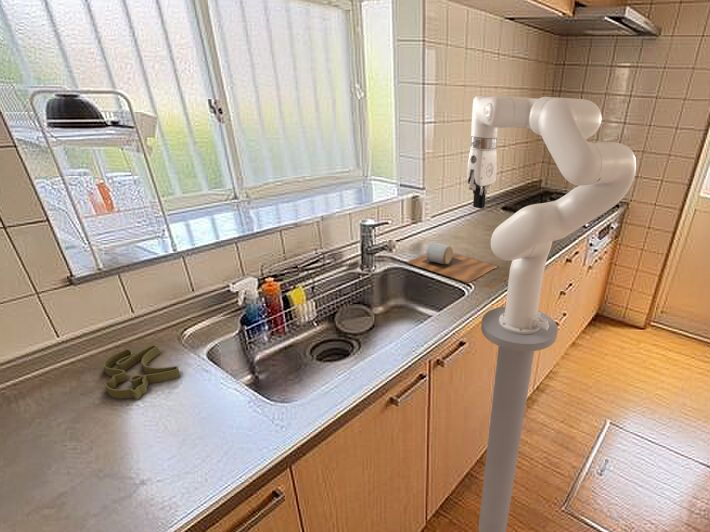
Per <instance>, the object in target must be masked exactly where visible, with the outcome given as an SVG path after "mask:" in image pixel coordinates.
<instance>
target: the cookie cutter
mask: <svg viewBox="0 0 710 532" xmlns="http://www.w3.org/2000/svg"><path fill="white" fill-rule="evenodd" d="M158 355H161V352H160V350H159V346H158V345H156V344H152V345H149V346H147V347H145V348H142V349H141V350H139V351H137V352H136V353H134V352H133V350H132V349H130V348H126V349H123V350H120V351H118V352H116V353H114V354H112V355H110V356H109V357H106V359H105V360H104V361H103V363H102V366H103V368H104V372H105V373H106V375H107V376H110V377H111V379H110V380H107V381H104V382H103V384H104V387H105V389H106V391H107V393H108V394H109V396H111V397H112V398H114V399H131V398H133V399H135V400H139V399H140V398H141V397H142V395H144V394H146V393H147V392H148V386H149V384H152V383H159V382H165V381H170V380H174V379H177V378H181V373H180V369H179V366H178V365H174V366H166V367H153V366H147V365H148V364H149V362H151V360H152V359H154V358H156V357H157V356H158ZM140 362H141V365H142V368H143V371H144V373H146V374H136V375H132V376H131V377H130V378H129V381H130V384H131V386H132V387H131V388H125V389H116V387H118V384H120V383H124V382H126V381H128V376H127V374H126V373H127V372H126V371H128V370H129V369H130V368H132V367H133V366H135V365H136V364H137V363H140ZM115 364H116V366H117V368H112V367H113V366H114V365H115Z"/></svg>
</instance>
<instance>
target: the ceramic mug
mask: <svg viewBox="0 0 710 532" xmlns="http://www.w3.org/2000/svg"><path fill="white" fill-rule="evenodd" d="M453 253H454V250H453V248H452V247H451V246H449V245H447V244H444V243H442V242H439V241H435V240H432V241H430V242H429V243H428V245H427V247H426V251H425V255H426V258H427V260H428V261H432V262H436V263H440V264H448V263H449V262H450V261H451V259H452V256H453Z"/></svg>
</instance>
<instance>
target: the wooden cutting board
mask: <svg viewBox="0 0 710 532" xmlns="http://www.w3.org/2000/svg"><path fill="white" fill-rule="evenodd" d="M406 264H409V265H412V266H415V267H418V268H421V269H424V270H428V271H430V272H434V273H437V274H439V275H443V276H446V277H449V278H452V279H455V280H458V281H461V282H464V283H467V284H470V283H472V282H473V281H475V280H477V279H479V278H480V277H482V276H484V275H486V274H487V273H489V272H491V271H493V270H494V269H496V268H498V265H495V264H493V263H488V262H485V261H481V260H477V259H474V258H470V257H467V256H465V255H461V254H457V253H454V252H453V256H452V259H451V261H450V262H449V263H448V264H440V263H436V262H432V261H428V260H427V258H426V254H423V255H421V256H418V257H416V258H413V259H411V260H409V261H406Z"/></svg>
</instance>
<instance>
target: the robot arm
mask: <svg viewBox="0 0 710 532" xmlns="http://www.w3.org/2000/svg"><path fill="white" fill-rule="evenodd" d="M602 120H603V119H602V112H601V109H600V108H599V106H598V105H597V104H596V103H595V102H593V101H591V100H589V99H585V98H574V97H573V98H572V97H556V96H540V97H539V98H534V97H533V98H531V97H521V96H508V95H507V96H505V95H504V96H503V95H492V96H491V95H475V97H474V98H473V100H472V110H471V126H470V142H469V143H470V144H469V155H468V159H467V160H468V161H467V170H466V182H467V184H468V190H471V191H472V194H473V202H472V203H473V204H472V206H473V208H477V209H484V208H485V207H486V195H487V193H488V189H489V188H490V186H492V184H495V183H496V182H497V174H498V173H497V172H498V152H497V144H498V130H499V128H503V129H505V128H513V129H515V128H517V129H530V130H531V131H532V132H533V133H534V134H536V135H538V136H541V138H542V141H543V142H544V144H545V146H546V148H547V150H548V152H549V153H550V155H551V157H552V159H553V161H554V163H555V165H556V166H557V168H558V170H559V173H560V174H561V175H562V177H563V178H564V179H565V181H567V182H569V184H571V185H575V186H576V187H574V188H572V189H571V190H570V191H569V192H567V193H566V194H565V195H563V196H561V197H559V198H558V199H556V200H552V201H547V202H542V203H541V202H540V203H534V204H529V205H526V206H524V207H522V208H520V209H519V210H517V211H516V212H515V213H513V214H512V215H511V216H509V217H508V218H507V219H505V220H504V221H503V222H502V223H500V224H499V225H497V227H496V228H495V229H494V230H493V233H492V235H491V237H490V248H491V251H492V253H493V255H494V256H495V257H496V258H498V259H499V260H502V261H505V262H510V261H511V263H510V267H509V272H508V281H507V289H506V290H507V291H506V298H505V306H506V307H505V306H504V307H505V313H503V314H502V315H500V317H499V324H500V326H501V327H502V328H503V329H505V330H507V331H509V332H512V333H516V334H531V333H535V332H537V331H538V330H539V329H540V328H541V329H544V330H548V328H549V324H548V320H546V319H542V318H541V317H540V314H541V312H542V311H540V312H538V311H539V306H540V299H541V292H542V286H543V280H544V274H545V270H546V264H547V260H548V257H549V254H550V251H551V249H552V245H553V242H555V241H558V240H563V239H564V238H566V237H568V236H569V235H571V234H572V233H574V232H575V231H577V230H579V229H581V228H582V227H584V226H585V225H588V224H589V223H590V222H592V221H594V220H595V219H597V218H598V217H600V216H602V215H603V214H605V213H606V212H608V211H609V210H611V209H613V207H615V206H616V205H617V204H618V203H620V201H621V200H622V199H624V197H625V196H626V195H627V194H628V192H629V191H630V189H631V186H632V185H633V182H634V180H635V176H636V171H637V159H636V156H635V153H634V151H633V150H632V149H631V148H630V147H629V146H628V145H625V144H623V143H620V142H617V141H616V142H615V141H588V140H587V139H589V138H591V137H593V136H594V135H595V134H596V133H597V132H598V130H599V129H600V127H601V124H602Z"/></svg>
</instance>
